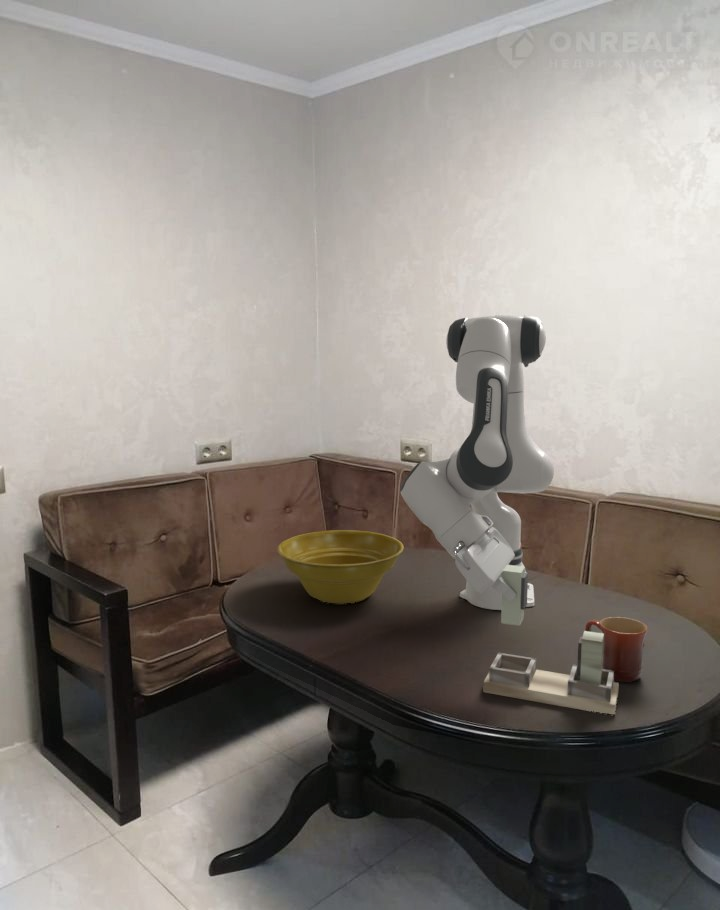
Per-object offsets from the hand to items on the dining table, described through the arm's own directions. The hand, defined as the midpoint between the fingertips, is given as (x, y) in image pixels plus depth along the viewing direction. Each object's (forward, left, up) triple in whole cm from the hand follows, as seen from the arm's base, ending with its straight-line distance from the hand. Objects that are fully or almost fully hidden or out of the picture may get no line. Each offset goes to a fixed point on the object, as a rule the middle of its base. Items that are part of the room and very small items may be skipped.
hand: (516, 593), depth 133 cm
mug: (-13, +17, -18) cm, 28 cm away
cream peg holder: (0, +7, -18) cm, 19 cm away
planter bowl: (-34, -51, -18) cm, 64 cm away
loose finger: (0, -1, -5) cm, 5 cm away
